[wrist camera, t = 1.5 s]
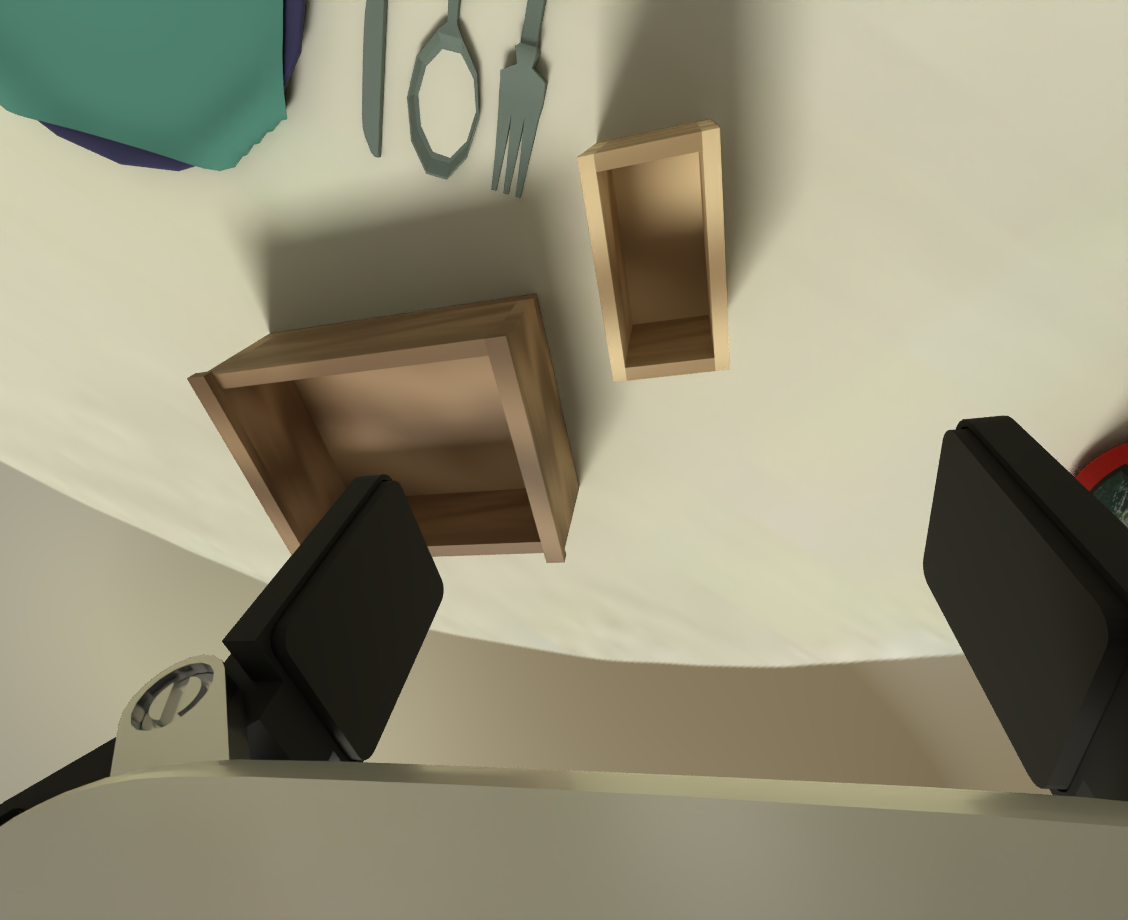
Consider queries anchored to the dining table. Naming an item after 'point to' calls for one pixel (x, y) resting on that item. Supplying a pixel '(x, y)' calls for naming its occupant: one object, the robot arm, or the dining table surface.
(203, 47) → the cutlery set
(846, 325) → the dining table surface
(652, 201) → the oak crate
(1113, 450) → the beverage can
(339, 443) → the walnut crate
